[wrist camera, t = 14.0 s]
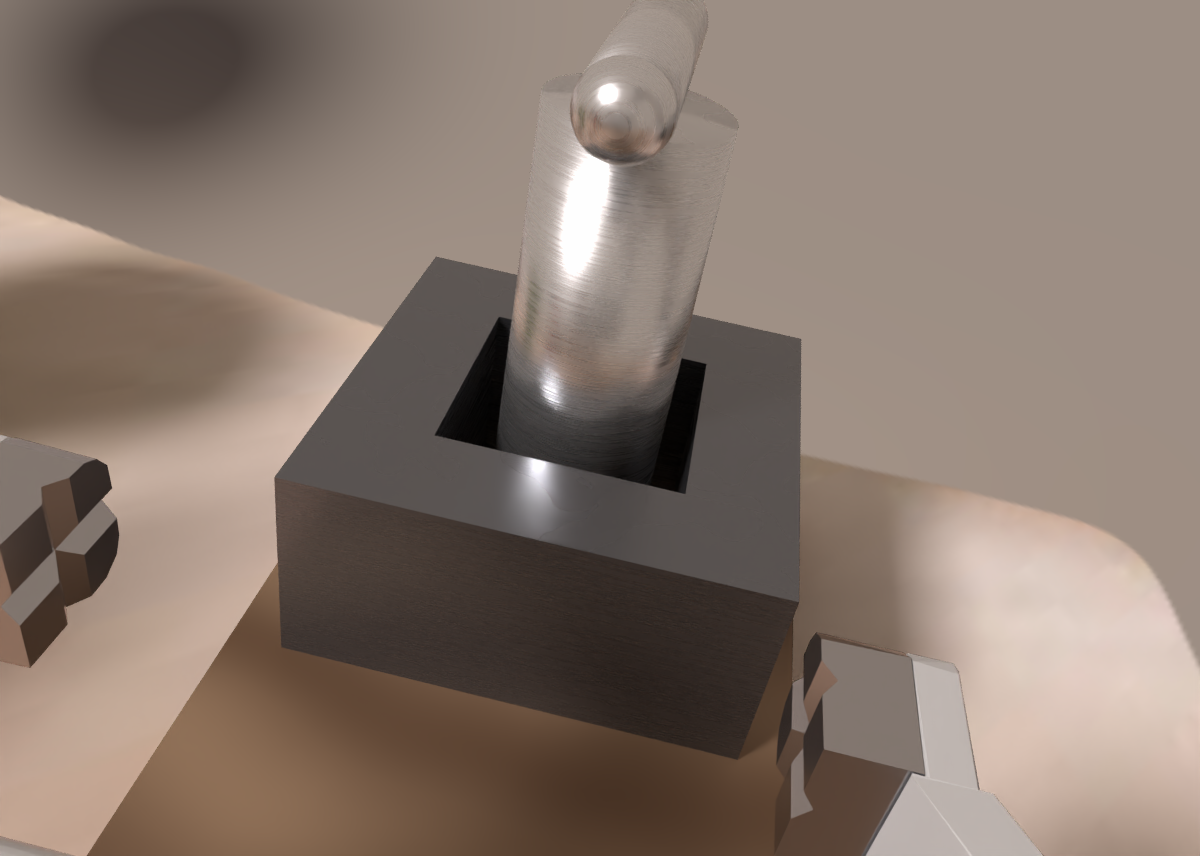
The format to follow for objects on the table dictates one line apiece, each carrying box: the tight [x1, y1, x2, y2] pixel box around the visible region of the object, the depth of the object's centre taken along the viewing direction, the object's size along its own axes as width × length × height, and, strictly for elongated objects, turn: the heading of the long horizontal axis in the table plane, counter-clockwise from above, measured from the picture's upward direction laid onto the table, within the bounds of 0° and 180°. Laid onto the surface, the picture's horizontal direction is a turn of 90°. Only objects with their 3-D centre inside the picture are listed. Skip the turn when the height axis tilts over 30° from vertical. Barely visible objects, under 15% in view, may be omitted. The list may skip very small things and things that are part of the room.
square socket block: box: [275, 257, 801, 760], centre depth 25 cm, size 11×11×5 cm
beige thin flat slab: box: [87, 563, 793, 856], centre depth 22 cm, size 24×13×2 cm, turn 170°
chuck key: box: [495, 0, 739, 486], centre depth 23 cm, size 9×4×14 cm, turn 171°
